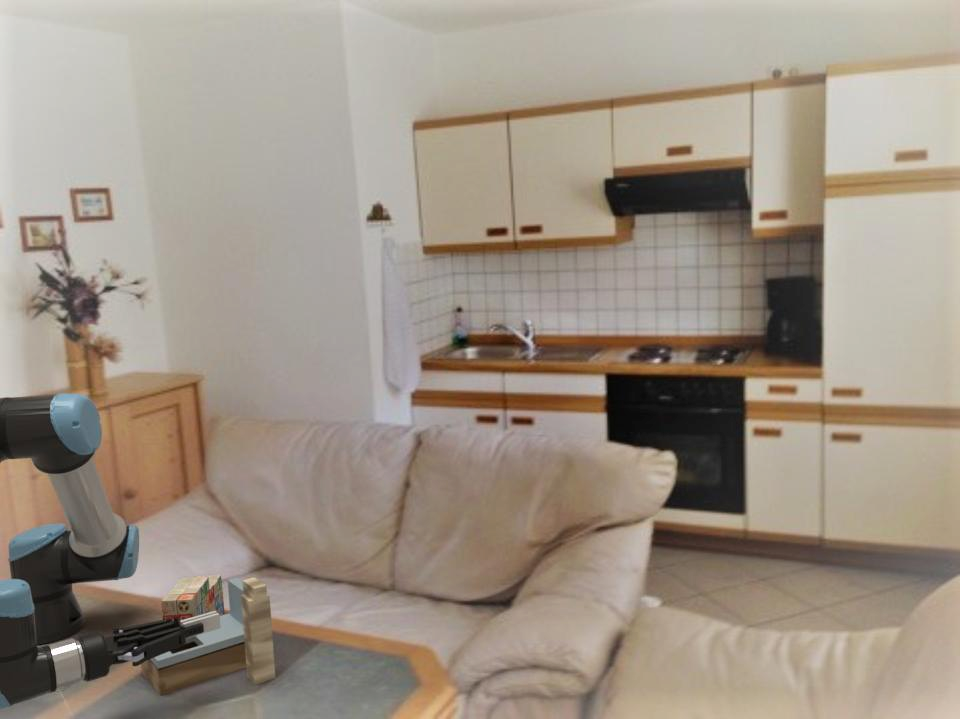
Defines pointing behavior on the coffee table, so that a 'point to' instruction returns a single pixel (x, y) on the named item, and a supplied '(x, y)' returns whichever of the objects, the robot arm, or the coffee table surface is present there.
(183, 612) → the stack of blocks
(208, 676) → the wooden box
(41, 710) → the coffee table surface
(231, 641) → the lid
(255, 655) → the key
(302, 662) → the coffee table surface
